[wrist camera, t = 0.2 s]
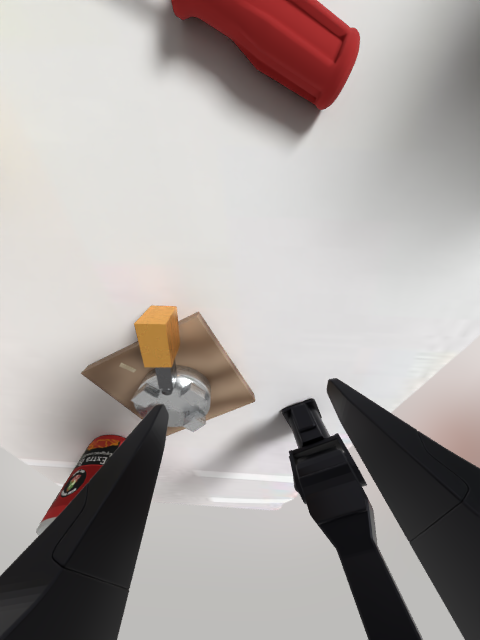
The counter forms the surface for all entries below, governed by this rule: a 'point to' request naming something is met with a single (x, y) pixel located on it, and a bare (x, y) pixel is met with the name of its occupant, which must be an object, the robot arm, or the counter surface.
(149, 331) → the silver tabbed disc tool
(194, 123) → the counter surface
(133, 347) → the board
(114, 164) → the counter surface
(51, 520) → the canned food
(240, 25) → the screwdriver
